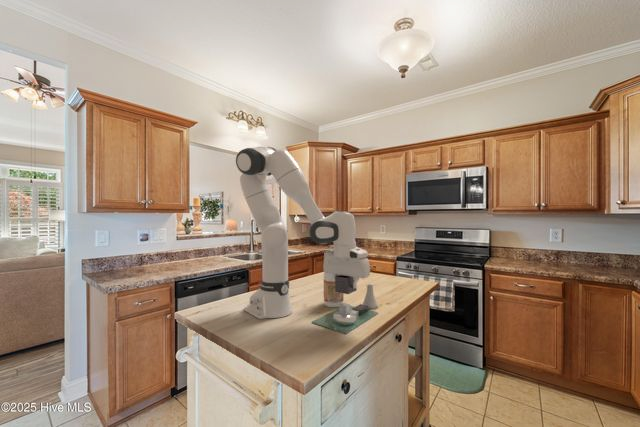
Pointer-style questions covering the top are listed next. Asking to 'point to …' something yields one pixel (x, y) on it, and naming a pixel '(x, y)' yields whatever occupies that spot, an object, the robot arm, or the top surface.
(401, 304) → the top surface
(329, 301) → the fruit juice
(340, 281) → the dark square pot
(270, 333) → the top surface
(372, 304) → the flask
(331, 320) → the green placemat
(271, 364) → the top surface
